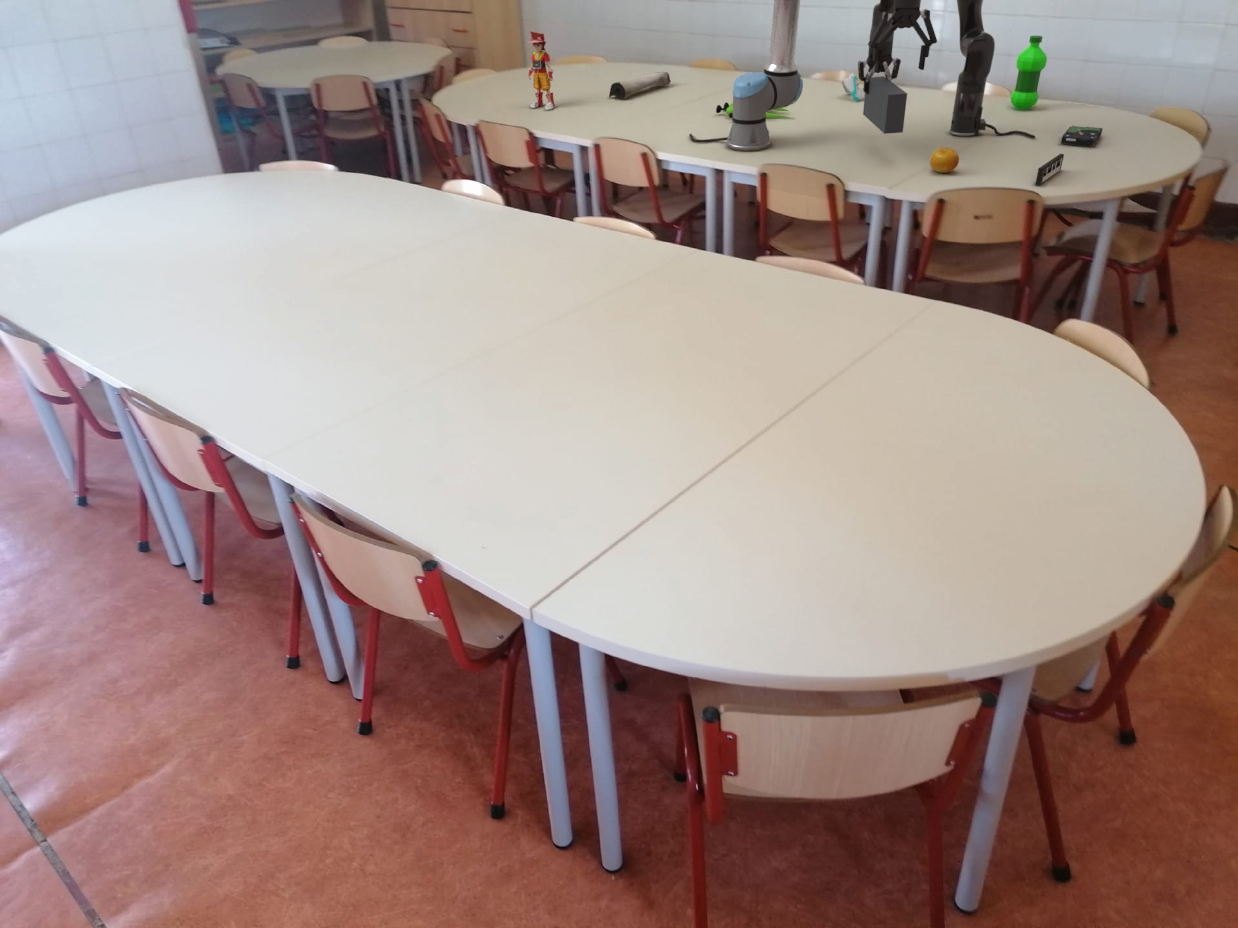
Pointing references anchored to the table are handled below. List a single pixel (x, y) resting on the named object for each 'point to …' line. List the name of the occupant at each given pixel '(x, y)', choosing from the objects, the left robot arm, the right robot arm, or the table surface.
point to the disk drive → (1081, 136)
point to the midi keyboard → (1049, 169)
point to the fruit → (944, 160)
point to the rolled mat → (638, 84)
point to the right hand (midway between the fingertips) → (876, 92)
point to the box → (885, 105)
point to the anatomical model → (853, 87)
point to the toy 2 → (730, 111)
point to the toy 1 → (541, 71)
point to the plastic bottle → (1028, 75)
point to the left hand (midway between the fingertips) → (899, 70)
